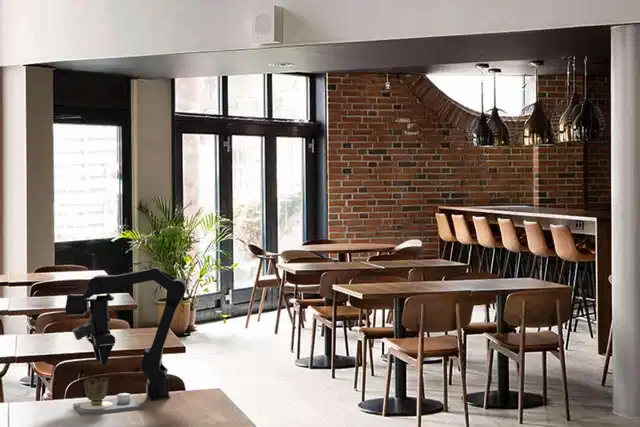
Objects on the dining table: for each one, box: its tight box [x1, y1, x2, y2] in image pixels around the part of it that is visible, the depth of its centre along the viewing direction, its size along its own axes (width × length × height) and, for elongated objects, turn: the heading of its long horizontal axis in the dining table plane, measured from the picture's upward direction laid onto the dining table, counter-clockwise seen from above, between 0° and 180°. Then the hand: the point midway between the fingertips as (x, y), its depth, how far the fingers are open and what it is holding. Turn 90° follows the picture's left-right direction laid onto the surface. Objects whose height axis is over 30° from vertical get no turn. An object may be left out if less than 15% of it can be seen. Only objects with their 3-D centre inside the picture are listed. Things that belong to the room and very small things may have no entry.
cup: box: [83, 376, 109, 406], centre depth 298 cm, size 8×7×8 cm
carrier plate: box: [72, 392, 141, 417], centre depth 300 cm, size 18×14×4 cm
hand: (100, 362), depth 311 cm, fingers open, 9 cm apart
